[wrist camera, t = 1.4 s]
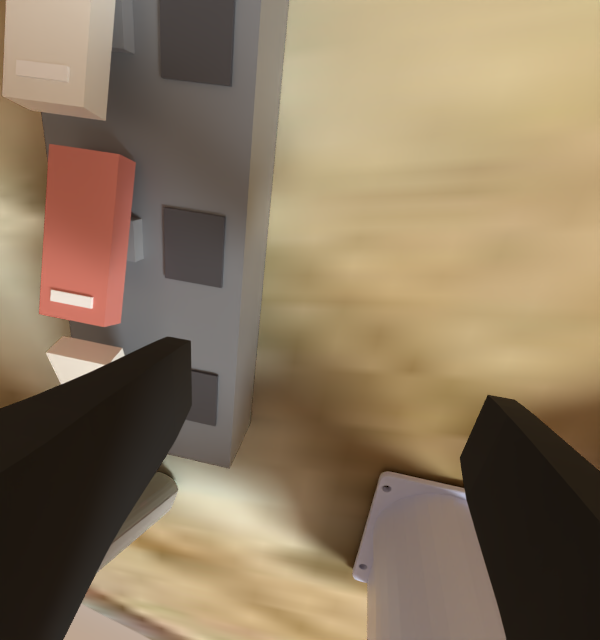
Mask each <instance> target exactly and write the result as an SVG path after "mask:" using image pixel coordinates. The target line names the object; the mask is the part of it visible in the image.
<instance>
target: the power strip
mask: <svg viewBox="0 0 600 640" xmlns="http://www.w3.org/2000/svg"><path fill="white" fill-rule="evenodd" d="M288 6H289V0H116V2H115V14H114V26H113V38H112V51H111V63H110V75H109V87H108V100H107V112H106V121H103V120H96V119H89V118H81V117H74V116H67V115H60V114H52V113H45V112H41V115H42V122H43V129H44V137H45V144H46V152H47V159H48V156H49V144H54V145H61V146H68V147H74V148H81V149H88V150H95V151H101V152H108V153H115V154H120V155H122V156H124V157H126V158H128V159H130V160H132V161H134V162H136V167H135V177H134V188H133V199H132V209H131V220H130V230H129V241H128V251H127V262H126V272H125V283H124V293H123V304H122V315H121V323H119V324H115V325H111V326H107V327H101V326H96V325H91V324H86V323H81V322H76V321H71V320H69V323H70V330H71V338H76V339H81V340H86V341H90V342H95V343H100V344H105V345H110V346H115V347H120V348H123V351H124V355H127V354H129V353H131V352H133V351H136V350H138V349H140V348H142V347H144V346H146V345H148V344H150V343H153V342H155V341H157V340H159V339H162V338H165V337H167V336H168V337H174V338H179V339H185V340H190V341H191V373H192V406H191V409H190V411H189V413H188V415H187V417H186V420H185V422H184V424H183V426H182V428H181V430H180V433H179V435H178V437H177V439H176V441H175V442H174V444H173V446H172V447H171V449H170V451H169V452H168V454H170V455H174V456H178V457H183V458H187V459H191V460H195V461H200V462H204V463H208V464H212V465H217V466H221V467H225V468H229V469H230V466H231V464H232V462H233V460H234V458H235V456H236V453H237V451H238V449H239V447H240V445H241V443H242V440H243V438H244V436H245V434H246V432H247V429H248V427H249V425H250V420H251V409H252V398H253V387H254V377H255V366H256V355H257V344H258V333H259V322H260V311H261V300H262V289H263V278H264V267H265V257H266V246H267V235H268V224H269V213H270V202H271V191H272V180H273V169H274V158H275V147H276V137H277V126H278V115H279V104H280V93H281V82H282V71H283V60H284V49H285V38H286V27H287V16H288Z"/></svg>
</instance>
